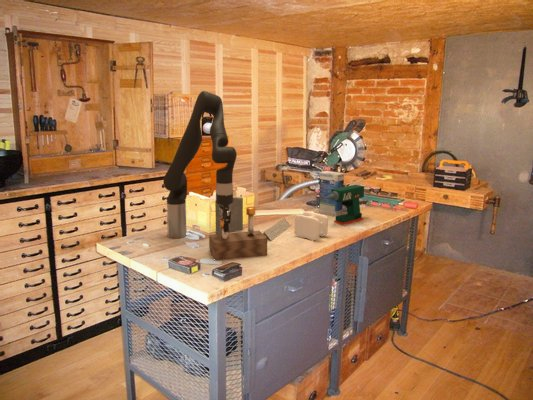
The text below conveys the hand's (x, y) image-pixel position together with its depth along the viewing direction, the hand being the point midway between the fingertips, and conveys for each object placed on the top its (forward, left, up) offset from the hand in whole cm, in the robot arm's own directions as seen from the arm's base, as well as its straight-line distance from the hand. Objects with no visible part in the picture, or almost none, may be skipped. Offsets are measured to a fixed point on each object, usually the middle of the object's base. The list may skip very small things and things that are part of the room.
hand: (224, 230), depth 195 cm
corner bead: (+33, +26, -12) cm, 44 cm away
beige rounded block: (+48, +14, -12) cm, 51 cm away
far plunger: (+12, 0, -6) cm, 13 cm away
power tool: (+75, +32, -12) cm, 83 cm away
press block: (+6, 0, -12) cm, 13 cm away
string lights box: (+78, +52, -12) cm, 94 cm away
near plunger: (0, 0, -11) cm, 11 cm away
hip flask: (+10, +34, -12) cm, 37 cm away
